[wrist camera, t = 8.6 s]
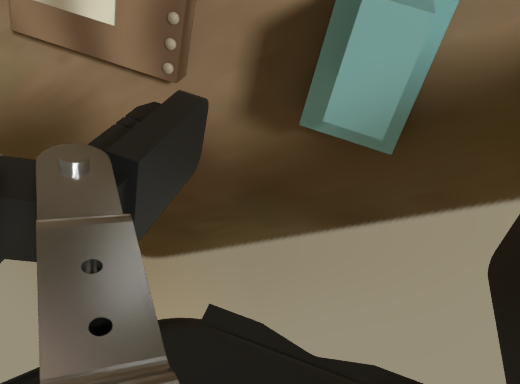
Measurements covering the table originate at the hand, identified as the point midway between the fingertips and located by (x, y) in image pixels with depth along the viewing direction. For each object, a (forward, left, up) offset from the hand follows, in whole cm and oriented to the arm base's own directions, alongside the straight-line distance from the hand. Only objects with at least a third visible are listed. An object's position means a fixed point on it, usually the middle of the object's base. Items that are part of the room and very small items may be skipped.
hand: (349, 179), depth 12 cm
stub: (0, +1, -19) cm, 19 cm away
